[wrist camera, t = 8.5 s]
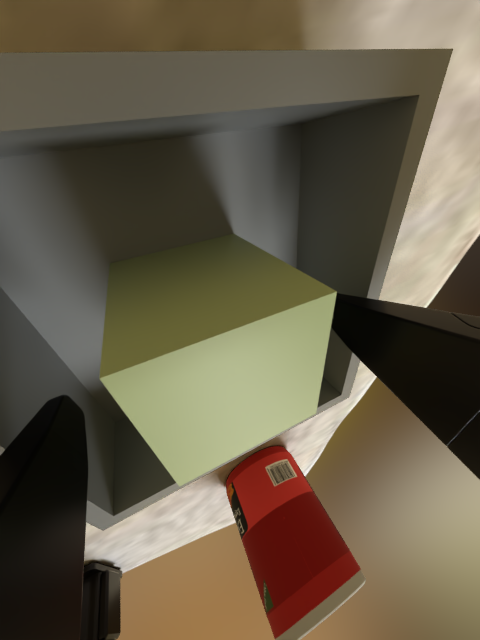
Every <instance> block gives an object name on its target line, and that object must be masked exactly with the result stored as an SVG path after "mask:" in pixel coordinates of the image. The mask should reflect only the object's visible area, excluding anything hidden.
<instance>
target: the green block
mask: <svg viewBox="0 0 480 640" xmlns="http://www.w3.org/2000/svg"><path fill="white" fill-rule="evenodd" d="M336 294H337V291H335V290H333V289H332V288H330V287H328V286H326V285H324V284H323V283H321V282H319V281H317V280H316V279H314V278H312V277H310V276H308V275H307V274H305V273H303V272H301V271H300V270H298V269H296V268H294V267H292V266H291V265H289V264H287V263H285V262H284V261H282V260H280V259H278V258H276V257H275V256H273V255H271V254H269V253H268V252H266V251H264V250H262V249H260V248H259V247H257V246H255V245H253V244H252V243H250V242H248V241H246V240H244V239H243V238H241V237H239V236H237V235H236V234H230V235H226V236H222V237H218V238H214V239H209V240H205V241H201V242H197V243H193V244H189V245H184V246H180V247H176V248H172V249H168V250H164V251H159V252H155V253H151V254H147V255H143V256H139V257H135V258H130V259H126V260H122V261H118V262H114V263H110V266H109V277H108V288H107V299H106V310H105V321H104V332H103V343H102V354H101V365H100V376H99V379H100V380H101V382H102V383H103V384H104V386H105V387H106V388H107V390H108V391H109V392H110V394H111V395H112V396H113V398H114V399H115V401H116V402H117V403H118V405H119V406H120V407H121V409H122V410H123V411H124V413H125V414H126V415H127V417H128V418H129V419H130V421H131V422H132V423H133V425H134V426H135V427H136V429H137V430H138V432H139V433H140V434H141V436H142V437H143V438H144V440H145V441H146V442H147V444H148V445H149V446H150V448H151V449H152V450H153V452H154V453H155V454H156V456H157V457H158V458H159V460H160V461H161V462H162V464H163V465H164V467H165V468H166V469H167V471H168V472H169V473H170V475H171V476H172V477H173V479H174V480H175V481H176V483H177V484H178V485H179V487H180V486H182V485H184V484H185V483H187V482H189V481H191V480H193V479H195V478H197V477H198V476H200V475H202V474H204V473H206V472H208V471H210V470H212V469H213V468H215V467H217V466H219V465H221V464H223V463H225V462H226V461H228V460H230V459H232V458H234V457H236V456H238V455H240V454H241V453H243V452H245V451H247V450H249V449H251V448H253V447H254V446H256V445H258V444H260V443H262V442H264V441H266V440H268V439H269V438H271V437H273V436H275V435H277V434H279V433H281V432H282V431H284V430H286V429H288V428H290V427H292V426H294V425H295V424H297V423H299V422H301V421H303V420H305V419H307V418H309V417H310V416H312V415H314V414H316V412H317V406H318V400H319V394H320V388H321V382H322V376H323V371H324V365H325V359H326V353H327V347H328V341H329V335H330V329H331V324H332V318H333V312H334V306H335V300H336Z"/></svg>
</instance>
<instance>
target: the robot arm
mask: <svg viewBox="0 0 480 640" xmlns="http://www.w3.org/2000/svg"><path fill="white" fill-rule="evenodd" d="M331 328H332V329H333V330H334V332H335V333H336V334H337V335H338V336H339V338H340V339H341V340H342V341H343V343H344V344H345V345H346V346H347V347H348V348H349V349H350V350H351V351H352V352H353V353H354V354H355V355H356V356H357V357H358V358H359V359H360V360H361V361H362V362H363V363H364V364H365V365H366V366H367V367H368V368H369V369H370V370H371V371H372V372H373V373H374V374H375V375H376V376H377V377H378V378H379V379H380V380H381V381H382V382H383V383H384V384H385V385H386V386H387V387H388V388H389V389H390V390H391V391H392V392H393V393H394V394H395V395H396V396H397V397H398V398H399V399H400V400H401V401H402V402H403V403H404V404H405V405H406V406H407V407H408V408H409V409H410V410H411V411H412V412H413V413H414V414H415V415H416V416H417V417H418V418H419V419H420V420H421V421H422V422H423V423H424V424H425V425H426V426H427V427H428V428H429V429H430V430H431V431H432V432H433V433H434V434H435V435H436V436H437V437H438V438H439V439H440V440H441V441H442V442H443V443H444V444H445V445H446V446H447V447H448V448H449V449H450V450H451V451H452V452H453V453H454V454H455V455H456V456H457V457H458V458H459V459H460V460H461V461H462V462H463V463H464V464H465V465H466V466H467V467H468V468H469V469H470V470H471V471H472V472H473V473H474V474H475V475H476V476H477V477H478V478H479V479H480V317H477V316H471V315H464V314H459V313H453V312H451V313H449V312H447V311H440V310H435V309H428V308H423V307H417V306H411V305H405V304H399V303H394V302H388V301H382V300H376V299H370V298H364V297H358V296H352V295H346V294H340V293H337V294H336V300H335V306H334V312H333V318H332V324H331ZM87 491H88V452H87V438H86V425H85V415H84V412H83V410H82V409H81V408H80V407H79V406H78V405H77V404H76V402H75V401H74V400H73V399H72V398H71V397H70V396H69V395H66V394H63V395H60V396H57V397H55V398H52V399H50V400H48V401H47V402H46V403H45V404H44V405H43V406H42V408H41V409H40V410H39V411H38V412H37V413H36V414H35V416H34V417H33V418H32V419H31V420H30V421H29V423H28V424H27V425H26V426H25V427H24V428H23V430H22V431H21V432H20V433H19V434H18V435H17V436H16V438H15V439H14V440H13V441H12V442H11V443H10V445H9V446H8V447H7V448H6V449H5V450H4V452H3V453H2V454H1V455H0V640H116V639H117V638H118V637H119V635H120V578H122V571H120V570H117V569H114V568H111V567H108V566H105V565H101V564H98V563H92V564H89V565H87V566H86V567H84V550H85V530H86V511H87Z"/></svg>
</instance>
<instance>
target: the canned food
mask: <svg viewBox="0 0 480 640" xmlns="http://www.w3.org/2000/svg"><path fill="white" fill-rule="evenodd" d="M226 490H227V496H228V499H229V502H230V505H231V508H232V511H233V515H234V518H235V521H236V523H237V527H238V530H239V533H240V536H241V539H242V542H243V545H244V548H245V551H246V554H247V557H248V560H249V563H250V566H251V569H252V572H253V575H254V578H255V581H256V584H257V587H258V591H259V594H260V597H261V599H262V603H263V606H264V609H265V612H266V615H267V618H268V620H269V623H270V626H271V629H272V632H273V634H274V638H275V640H300V639H301V638H303V637H304V636H305V635H307V634H308V633H309V632H311V631H312V630H313V629H314V628H315V627H317V626H318V625H319V624H320V623H322V622H323V621H324V620H325V619H326V618H327V617H329V616H330V615H331V614H332V613H333V612H334V611H336V610H337V609H338V608H339V607H340V606H341V605H343V604H344V603H345V602H346V601H347V600H348V599H349V598H350V597H351V596H353V594H355V593H356V592H357V591H358V590H359V589H360V588H361V587H362V586H363V585H364V583H365V580H366V578H365V577H364V575H363V573H362V571H361V569H360V567H359V565H358V564H357V562H356V560H355V559H354V557H353V555H352V553H351V552H350V550H349V548H348V547H347V545H346V544H345V542H344V540H343V538H342V537H341V535H340V534H339V532H338V530H337V529H336V527H335V525H334V524H333V522H332V520H331V519H330V518H329V516H328V514H327V512H326V511H325V509H324V508H323V506H322V504H321V502H320V501H319V499H318V498H317V496H316V494H315V493H314V491H313V490H312V488H311V487H310V484H309V483H308V481H307V480H306V478H305V476H304V475H303V473H302V471H301V470H300V468H299V466H298V465H297V463H296V462H295V460H294V458H293V457H292V455H291V454H290V453H289V452H288V451H287V450H286V449H285V448H284V447H282V446H272V447H268V448H265V449H263V450H260V451H258V452H256V453H254V454H253V455H251V456H249V457H248V458H246V459H245V460H244V461H242V462H241V463H240V464H239V465H238V466H236V468H235V469H234V470H233V471H232V472H231V473H230V475H229V477H228V479H227V481H226Z"/></svg>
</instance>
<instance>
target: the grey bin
mask: <svg viewBox="0 0 480 640" xmlns="http://www.w3.org/2000/svg"><path fill="white" fill-rule="evenodd" d="M452 51H453V49H371V50H257V51H143V52H30V53H0V455H1V454H2V453H3V452H4V450H5V449H6V448H7V447H8V446H9V445H10V443H11V442H12V441H13V440H14V439H15V438H16V436H17V435H18V434H19V433H20V432H21V431H22V430H23V428H24V427H25V426H26V425H27V424H28V423H29V421H30V420H31V419H32V418H33V417H34V416H35V414H36V413H37V412H38V411H39V410H40V409H41V408H42V406H43V405H44V404H45V403H46V402H47V401H48V400H50V399H52V398H55V397H57V396H60V395H63V394H66V395H69V396H70V397H71V398H72V399H73V400H74V401H75V402H76V404H77V405H78V406H79V407H80V408H81V409H82V410H83V412H84V415H85V425H86V438H87V452H88V491H87V511H86V522H87V523H89V524H91V525H93V526H95V527H97V528H99V529H101V530H105V529H107V528H109V527H111V526H113V525H114V524H116V523H118V522H120V521H122V520H124V519H126V518H127V517H129V516H131V515H133V514H135V513H137V512H138V511H140V510H142V509H144V508H146V507H148V506H149V505H151V504H153V503H155V502H157V501H159V500H161V499H162V498H164V497H166V496H168V495H170V494H172V493H173V492H175V491H177V490H179V489H181V488H183V487H185V486H186V485H188V484H190V483H192V482H194V481H196V480H197V479H199V478H201V477H203V476H205V475H207V474H208V473H210V472H212V471H214V470H216V469H218V468H220V467H221V466H223V465H225V464H227V463H229V462H231V461H232V460H234V459H236V458H238V457H240V456H242V455H244V454H245V453H247V452H249V451H251V450H253V449H255V448H256V447H258V446H260V445H262V444H264V443H266V442H268V441H269V440H271V439H273V438H275V437H277V436H279V435H280V434H282V433H284V432H286V431H288V430H290V429H291V428H293V427H295V426H297V425H299V424H301V423H303V422H304V421H306V420H308V419H310V418H312V417H314V416H315V415H317V414H319V413H321V412H323V411H325V410H327V409H328V408H330V407H332V406H334V405H336V404H338V403H339V402H341V401H343V400H345V399H347V398H349V396H350V393H351V390H352V386H353V383H354V380H355V376H356V373H357V370H358V366H359V363H360V359H359V358H358V357H357V356H356V355H355V354H354V353H353V352H352V351H351V350H350V349H349V348H348V347H347V346H346V345H345V344H344V343H343V341H342V340H341V339H340V338H339V336H338V335H337V334H336V333H335V332H334V330H333V329H332V328H331V329H330V335H329V341H328V347H327V353H326V359H325V365H324V371H323V376H322V382H321V388H320V394H319V400H318V406H317V412H316V414H314V415H312V416H310V417H309V418H307V419H305V420H303V421H301V422H299V423H297V424H295V425H294V426H292V427H290V428H288V429H286V430H284V431H282V432H281V433H279V434H277V435H275V436H273V437H271V438H269V439H268V440H266V441H264V442H262V443H260V444H258V445H256V446H254V447H253V448H251V449H249V450H247V451H245V452H243V453H241V454H240V455H238V456H236V457H234V458H232V459H230V460H228V461H226V462H225V463H223V464H221V465H219V466H217V467H215V468H213V469H212V470H210V471H208V472H206V473H204V474H202V475H200V476H198V477H197V478H195V479H193V480H191V481H189V482H187V483H185V484H184V485H182V486H180V487H179V485H178V484H177V483H176V481H175V480H174V479H173V477H172V476H171V475H170V473H169V472H168V471H167V469H166V468H165V467H164V465H163V464H162V462H161V461H160V460H159V458H158V457H157V456H156V454H155V453H154V452H153V450H152V449H151V448H150V446H149V445H148V444H147V442H146V441H145V440H144V438H143V437H142V436H141V434H140V433H139V432H138V430H137V429H136V427H135V426H134V425H133V423H132V422H131V421H130V419H129V418H128V417H127V415H126V414H125V413H124V411H123V410H122V409H121V407H120V406H119V405H118V403H117V402H116V401H115V399H114V398H113V396H112V395H111V394H110V392H109V391H108V390H107V388H106V387H105V386H104V384H103V383H102V382H101V380H100V379H99V376H100V365H101V354H102V343H103V332H104V321H105V310H106V299H107V288H108V277H109V266H110V263H114V262H118V261H122V260H126V259H130V258H135V257H139V256H143V255H147V254H151V253H155V252H159V251H164V250H168V249H172V248H176V247H180V246H184V245H189V244H193V243H197V242H201V241H205V240H209V239H214V238H218V237H222V236H226V235H230V234H236V235H237V236H239V237H241V238H243V239H244V240H246V241H248V242H250V243H252V244H253V245H255V246H257V247H259V248H260V249H262V250H264V251H266V252H268V253H269V254H271V255H273V256H275V257H276V258H278V259H280V260H282V261H284V262H285V263H287V264H289V265H291V266H292V267H294V268H296V269H298V270H300V271H301V272H303V273H305V274H307V275H308V276H310V277H312V278H314V279H316V280H317V281H319V282H321V283H323V284H324V285H326V286H328V287H330V288H332V289H333V290H335V291H337V293H340V294H346V295H352V296H358V297H364V298H370V299H376V300H378V299H379V296H380V292H381V289H382V286H383V282H384V279H385V276H386V272H387V269H388V266H389V262H390V259H391V255H392V252H393V249H394V245H395V242H396V239H397V235H398V232H399V229H400V225H401V222H402V219H403V215H404V212H405V208H406V205H407V202H408V198H409V195H410V192H411V188H412V185H413V182H414V178H415V175H416V172H417V168H418V165H419V161H420V158H421V155H422V151H423V148H424V145H425V141H426V138H427V135H428V131H429V128H430V124H431V121H432V118H433V114H434V111H435V108H436V104H437V101H438V98H439V94H440V91H441V88H442V84H443V81H444V77H445V74H446V71H447V67H448V64H449V61H450V57H451V54H452Z"/></svg>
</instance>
